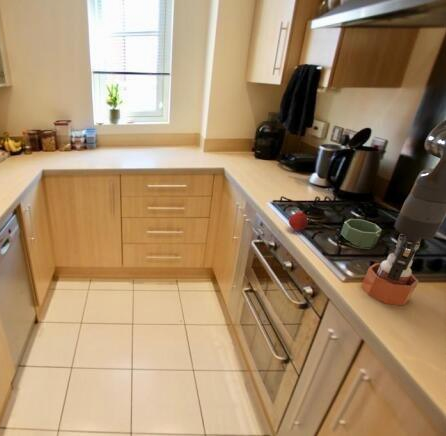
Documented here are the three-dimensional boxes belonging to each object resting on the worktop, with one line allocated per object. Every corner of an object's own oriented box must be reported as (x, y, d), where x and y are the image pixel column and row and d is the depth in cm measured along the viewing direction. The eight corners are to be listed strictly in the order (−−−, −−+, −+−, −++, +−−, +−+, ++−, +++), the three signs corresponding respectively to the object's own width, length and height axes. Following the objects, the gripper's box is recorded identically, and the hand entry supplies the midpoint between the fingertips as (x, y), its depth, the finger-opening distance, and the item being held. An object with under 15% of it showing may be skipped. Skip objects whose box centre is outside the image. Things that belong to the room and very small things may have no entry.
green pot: (366, 235, 110) (372, 220, 107) (379, 250, 102) (386, 234, 99) (336, 233, 112) (341, 218, 109) (347, 247, 103) (352, 231, 101)
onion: (295, 225, 117) (301, 206, 113) (308, 233, 112) (314, 213, 108) (283, 228, 115) (288, 208, 111) (295, 236, 110) (301, 215, 107)
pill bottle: (404, 301, 81) (423, 266, 76) (378, 299, 82) (394, 264, 77) (390, 285, 86) (406, 252, 81) (365, 283, 87) (380, 250, 82)
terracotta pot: (395, 283, 87) (403, 265, 84) (415, 307, 79) (425, 288, 76) (356, 279, 89) (364, 261, 86) (372, 302, 81) (381, 283, 78)
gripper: (443, 231, 66) (410, 292, 74) (443, 208, 76) (414, 265, 83) (398, 220, 71) (371, 279, 79) (403, 200, 80) (379, 254, 88)
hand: (394, 272), depth 81 cm, fingers closed on pill bottle, 6 cm apart
